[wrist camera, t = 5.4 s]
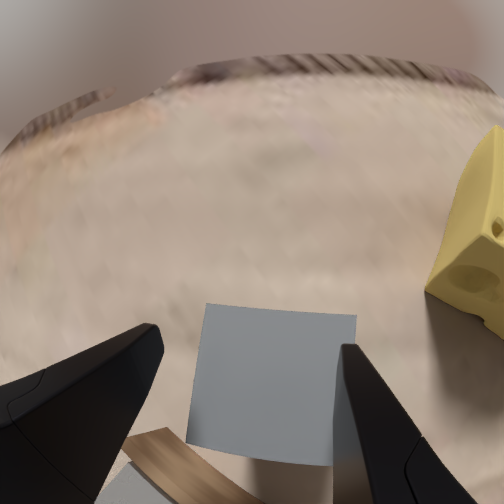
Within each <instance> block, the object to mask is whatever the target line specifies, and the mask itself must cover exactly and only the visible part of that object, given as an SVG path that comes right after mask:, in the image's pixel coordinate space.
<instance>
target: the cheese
mask: <svg viewBox="0 0 504 504" xmlns="http://www.w3.org/2000/svg"><path fill="white" fill-rule="evenodd" d="M425 291H426V292H428V293H430V294H432V295H433V296H435V297H437V298H439V299H440V300H442V301H444V302H446V303H447V304H449V305H451V306H453V307H455V308H456V309H459V310H461V311H462V312H466V313H471V314H476V315H478V316H480V317H481V318H483V319H484V325H485V326H486V327H487V328H488V329H490V330H491V331H492V332H494V333H495V334H497V335H498V336H499V337H500V338H502V339H503V340H504V129H503V128H501V127H499V126H498V125H495V126H494V127H493V128H492V129H491V130H490V132H489V133H488V134H487V135H486V136H485V137H484V138H483V139H482V141H481V142H480V143H479V144H478V146H477V147H476V149H475V150H474V152H473V154H472V155H471V157H470V159H469V161H468V163H467V165H466V167H465V169H464V171H463V173H462V175H461V178H460V180H459V183H458V186H457V189H456V193H455V197H454V200H453V204H452V207H451V211H450V214H449V218H448V222H447V226H446V230H445V234H444V238H443V241H442V245H441V248H440V251H439V253H438V256H437V259H436V262H435V264H434V267H433V269H432V272H431V274H430V276H429V279H428V281H427V283H426V286H425Z"/></svg>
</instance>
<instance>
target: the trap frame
mask: <svg viewBox="0 0 504 504" xmlns="http://www.w3.org/2000/svg"><path fill="white" fill-rule="evenodd" d="M121 449H122V450H123V451H124V452H125V453H126V454H127V455H128V457H129V458H130V459H131V460H132V461H133V462H134V463H135V464H136V465H137V466H138V467H139V468H140V469H141V470H142V471H143V472H144V473H145V474H146V475H147V476H149V477H150V478H151V479H152V480H153V481H154V482H155V483H156V484H157V485H158V486H159V487H160V488H162V489H163V490H164V491H165V492H166V493H167V494H168V495H170V496H171V497H172V498H173V499H174V500H175V501H177V502H178V503H179V504H264V503H263V502H261V501H260V500H258V499H257V498H255V497H254V496H252V495H251V494H249V493H248V492H246V491H245V490H243V489H242V488H241V487H239V486H238V485H236V484H235V483H234V482H232V481H231V480H229V479H228V478H227V477H225V476H224V475H223V474H221V473H220V472H219V471H218V470H216V469H215V468H214V467H212V466H211V465H210V464H209V463H207V462H206V461H205V460H204V459H203V458H201V457H200V456H199V455H198V454H196V453H195V452H194V451H193V450H192V449H191V448H189V447H188V446H187V445H186V444H185V443H184V442H183V441H182V440H180V439H179V438H178V437H177V436H176V435H175V434H174V433H173V432H172V431H171V430H169V429H168V428H167V427H165V428H161V429H158V430H154V431H150V432H146V433H142V434H138V435H134V436H130V437H126V439H125V441H124V443H123V445H122V447H121Z"/></svg>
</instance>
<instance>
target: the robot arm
mask: <svg viewBox="0 0 504 504" xmlns="http://www.w3.org/2000/svg"><path fill="white" fill-rule="evenodd" d="M163 354H164V344H163V340H162V337H161V333H160V329H159V327H158V326H157V325H155V324H150V323H143V324H141V325H139V326H137V327H134V328H132V329H130V330H128V331H126V332H124V333H121V334H119V335H117V336H115V337H113V338H111V339H109V340H106V341H104V342H102V343H100V344H98V345H95V346H93V347H91V348H89V349H87V350H85V351H82V352H80V353H78V354H76V355H74V356H71V357H69V358H67V359H65V360H62V361H60V362H58V363H56V364H54V365H51V366H49V367H47V368H46V369H42V370H40V371H38V372H35V373H33V374H31V375H28V376H26V377H23V378H21V379H18V380H16V381H13V382H10V383H7V384H4V385H1V386H0V504H94V503H95V501H96V499H97V497H98V494H99V492H100V490H101V488H102V486H103V484H104V482H105V480H106V478H107V476H108V474H109V472H110V470H111V467H112V465H113V463H114V461H115V459H116V457H117V455H118V453H119V451H120V449H121V447H122V445H123V443H124V441H125V439H126V437H127V435H128V433H129V431H130V429H131V427H132V425H133V423H134V421H135V419H136V417H137V415H138V413H139V412H140V410H141V408H142V406H143V404H144V402H145V400H146V398H147V396H148V393H149V391H150V389H151V386H152V383H153V381H154V378H155V375H156V373H157V370H158V367H159V365H160V362H161V360H162V357H163ZM421 436H422V434H421V432H420V431H419V429H418V428H417V426H416V425H415V424H414V422H413V421H412V419H411V418H410V416H409V415H408V414H407V412H406V411H405V409H404V408H403V407H402V405H401V404H400V402H399V401H398V399H397V398H396V397H395V395H394V394H393V392H392V391H391V390H390V388H389V387H388V386H387V384H386V383H385V381H384V380H383V379H382V377H381V376H380V374H379V373H378V372H377V370H376V369H375V368H374V366H373V365H372V363H371V362H370V361H369V359H368V358H367V357H366V355H365V354H364V353H363V351H362V350H361V349H360V347H359V346H358V345H357V344H349V343H343V344H342V345H341V347H340V352H339V358H338V364H337V372H336V386H335V399H334V410H333V504H478V503H477V502H476V501H475V500H474V499H473V498H472V497H471V495H470V494H469V493H468V492H467V491H466V490H465V489H464V488H463V487H462V485H461V484H460V483H459V482H458V481H457V480H456V479H455V477H454V476H453V475H452V474H451V473H450V471H449V470H448V469H447V468H446V467H445V465H444V464H443V463H442V462H441V460H440V459H439V458H438V456H437V455H436V453H435V452H434V451H433V449H432V448H431V447H430V445H429V444H428V442H427V441H426V439H425V438H424V437H421Z"/></svg>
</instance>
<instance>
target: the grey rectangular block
mask: <svg viewBox="0 0 504 504" xmlns="http://www.w3.org/2000/svg"><path fill="white" fill-rule="evenodd" d="M356 318H357V315H344V314H326V313H310V312H295V311H282V310H270V309H258V308H247V307H237V306H227V305H218V304H209V303H206V309H205V315H204V321H203V327H202V333H201V339H200V345H199V351H198V358H197V364H196V371H195V377H194V384H193V391H192V398H191V405H190V412H189V419H188V427H187V434H186V442H185V443H188V444H191V445H195V446H199V447H203V448H207V449H211V450H216V451H220V452H225V453H229V454H234V455H239V456H245V457H250V458H256V459H263V460H270V461H277V462H285V463H294V464H305V465H318V466H333V410H334V399H335V386H336V372H337V364H338V358H339V352H340V347H341V345H342V344H343V343H349V344H355V334H356Z"/></svg>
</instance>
